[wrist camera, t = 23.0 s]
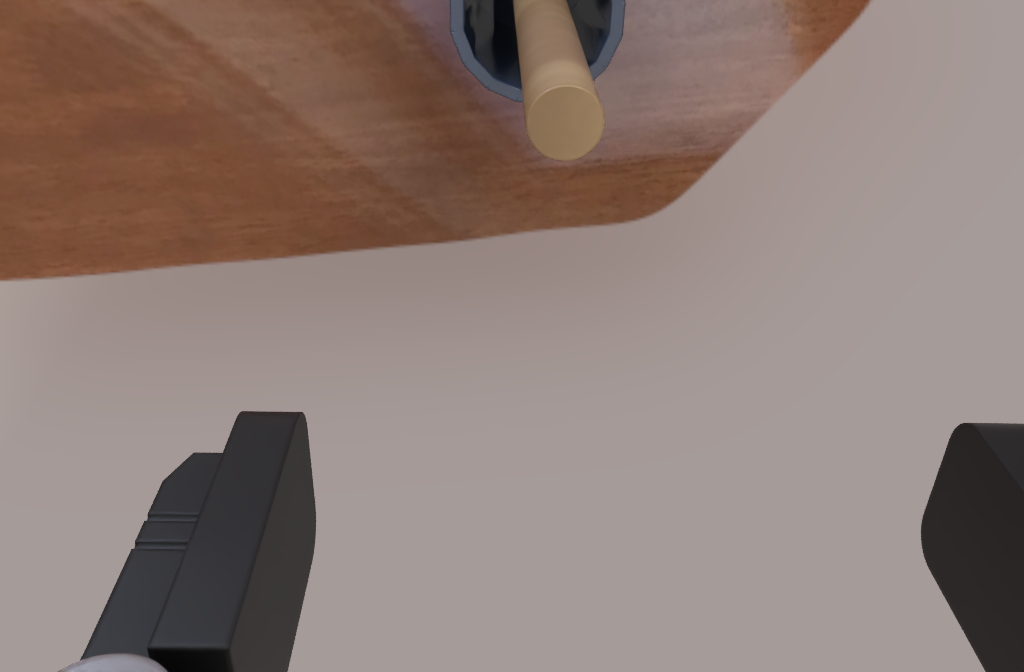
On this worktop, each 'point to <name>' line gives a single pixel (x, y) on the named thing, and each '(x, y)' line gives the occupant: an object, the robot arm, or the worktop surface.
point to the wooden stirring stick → (556, 81)
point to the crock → (493, 41)
